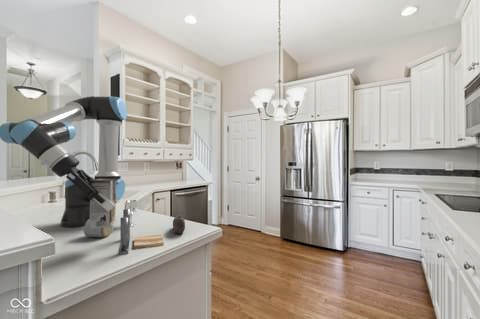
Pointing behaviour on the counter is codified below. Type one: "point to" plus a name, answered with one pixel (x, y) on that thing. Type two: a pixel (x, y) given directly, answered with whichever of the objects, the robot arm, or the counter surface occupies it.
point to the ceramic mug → (97, 231)
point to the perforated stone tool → (178, 224)
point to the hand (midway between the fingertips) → (113, 205)
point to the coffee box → (97, 212)
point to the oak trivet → (148, 241)
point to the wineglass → (131, 209)
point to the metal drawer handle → (125, 232)
